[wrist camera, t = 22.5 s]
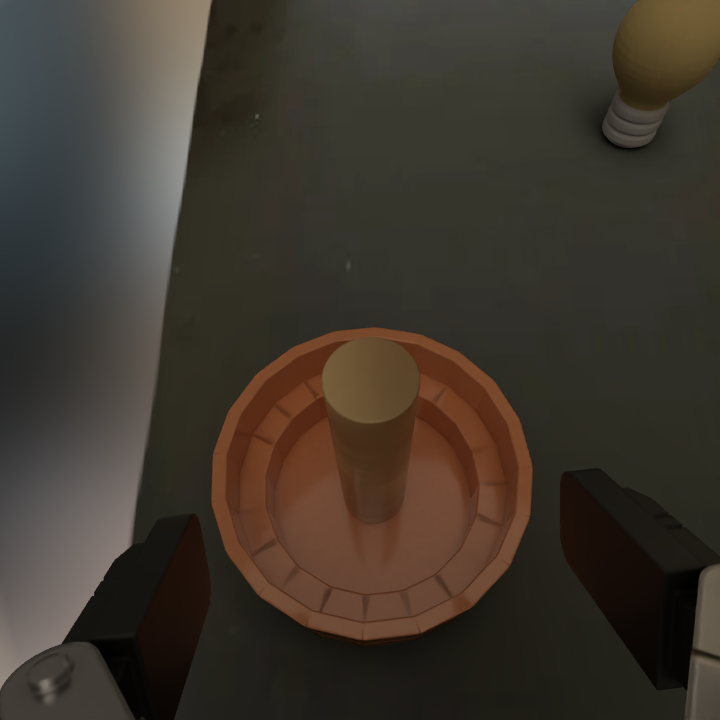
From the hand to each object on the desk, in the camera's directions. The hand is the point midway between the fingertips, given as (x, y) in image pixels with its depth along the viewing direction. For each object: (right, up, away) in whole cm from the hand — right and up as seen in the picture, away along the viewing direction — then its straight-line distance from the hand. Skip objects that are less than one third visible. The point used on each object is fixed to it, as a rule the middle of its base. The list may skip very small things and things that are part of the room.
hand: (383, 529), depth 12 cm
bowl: (0, -3, +15) cm, 16 cm away
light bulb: (+19, +20, +29) cm, 40 cm away
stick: (0, -3, +15) cm, 15 cm away
